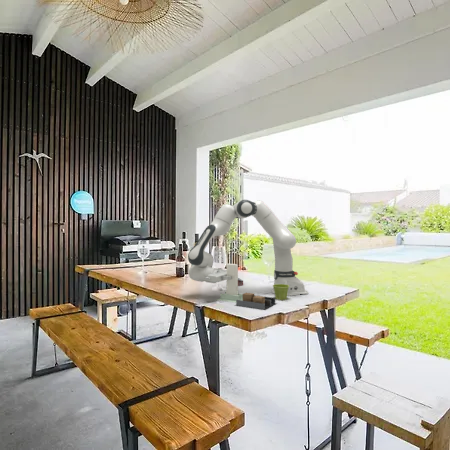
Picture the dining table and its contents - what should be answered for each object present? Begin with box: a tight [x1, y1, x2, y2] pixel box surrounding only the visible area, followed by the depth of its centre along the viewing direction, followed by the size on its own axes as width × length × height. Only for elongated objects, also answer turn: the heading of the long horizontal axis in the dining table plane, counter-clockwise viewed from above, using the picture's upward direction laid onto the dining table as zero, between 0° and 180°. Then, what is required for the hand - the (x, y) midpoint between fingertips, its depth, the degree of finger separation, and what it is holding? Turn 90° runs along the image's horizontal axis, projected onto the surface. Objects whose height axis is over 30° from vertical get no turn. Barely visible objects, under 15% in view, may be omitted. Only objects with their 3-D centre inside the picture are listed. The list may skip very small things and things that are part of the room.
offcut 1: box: [242, 292, 255, 302], centre depth 188 cm, size 4×5×6 cm
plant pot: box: [272, 284, 289, 301], centre depth 203 cm, size 9×9×9 cm
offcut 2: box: [253, 295, 266, 303], centre depth 185 cm, size 4×5×5 cm
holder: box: [215, 291, 244, 304], centre depth 201 cm, size 12×14×4 cm
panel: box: [225, 263, 239, 296], centre depth 201 cm, size 2×6×20 cm, turn 59°
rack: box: [233, 294, 278, 311], centre depth 189 cm, size 16×18×4 cm
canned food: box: [238, 277, 244, 287], centre depth 250 cm, size 11×10×10 cm
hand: (233, 277), depth 200 cm, fingers open, 3 cm apart
